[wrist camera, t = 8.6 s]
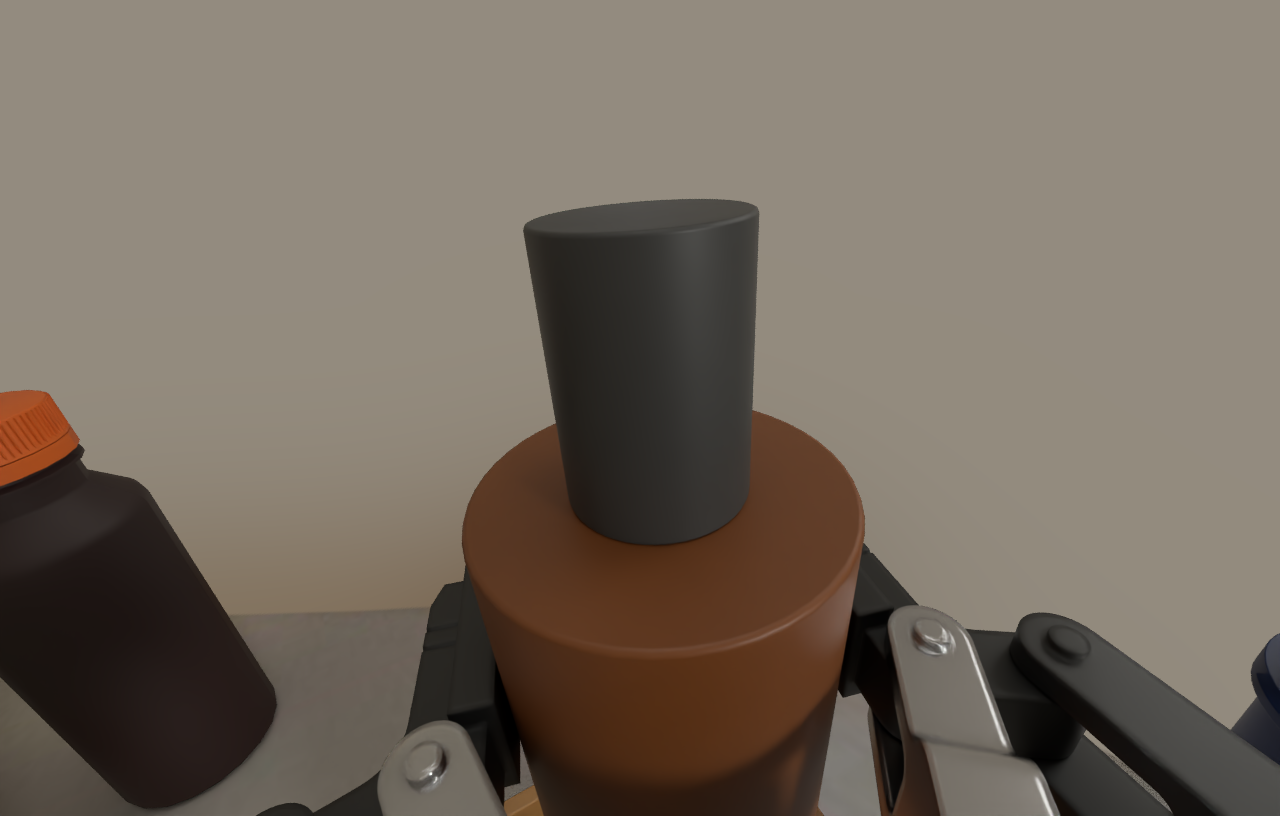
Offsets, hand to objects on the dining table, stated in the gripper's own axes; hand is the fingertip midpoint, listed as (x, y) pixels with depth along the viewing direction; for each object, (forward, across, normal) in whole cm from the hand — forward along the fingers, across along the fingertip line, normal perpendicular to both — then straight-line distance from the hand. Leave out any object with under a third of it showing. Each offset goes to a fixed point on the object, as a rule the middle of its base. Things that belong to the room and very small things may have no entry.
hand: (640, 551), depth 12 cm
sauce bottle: (-2, 0, +10) cm, 11 cm away
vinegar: (+12, +23, +19) cm, 32 cm away
